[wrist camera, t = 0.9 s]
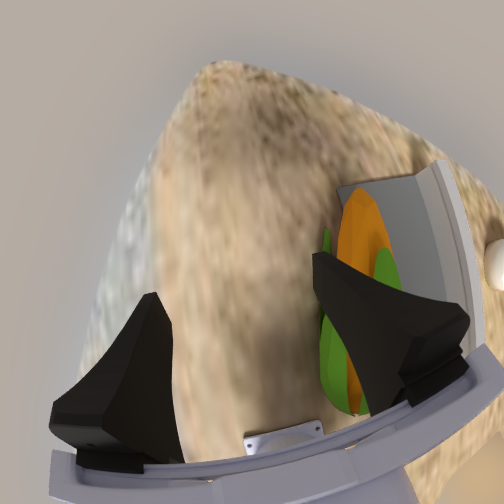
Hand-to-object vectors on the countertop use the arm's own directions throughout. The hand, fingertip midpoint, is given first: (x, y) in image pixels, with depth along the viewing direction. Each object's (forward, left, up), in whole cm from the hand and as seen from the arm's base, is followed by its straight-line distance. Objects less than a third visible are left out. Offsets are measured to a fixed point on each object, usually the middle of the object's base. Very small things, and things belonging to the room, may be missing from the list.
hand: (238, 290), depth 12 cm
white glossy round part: (-7, -34, -12) cm, 37 cm away
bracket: (-4, -17, -12) cm, 22 cm away
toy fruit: (-4, -9, -12) cm, 16 cm away
